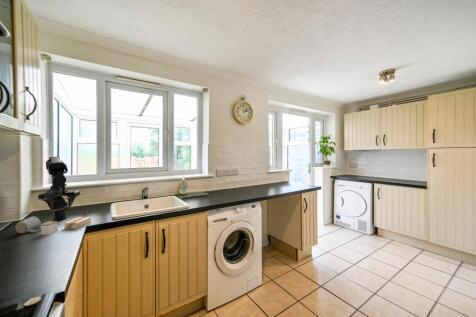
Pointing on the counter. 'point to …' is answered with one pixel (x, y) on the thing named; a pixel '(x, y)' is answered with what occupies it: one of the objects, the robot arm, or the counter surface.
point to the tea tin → (49, 227)
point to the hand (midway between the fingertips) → (60, 208)
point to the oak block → (77, 223)
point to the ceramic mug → (28, 225)
